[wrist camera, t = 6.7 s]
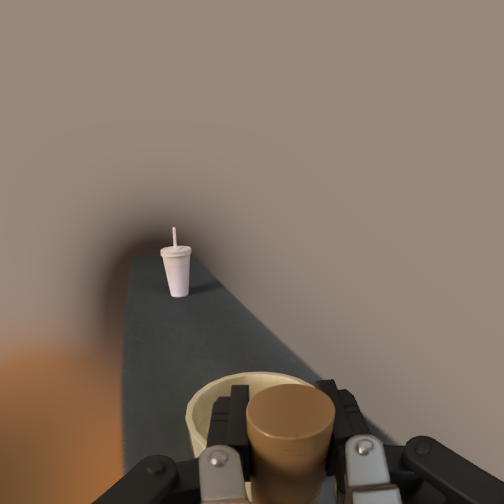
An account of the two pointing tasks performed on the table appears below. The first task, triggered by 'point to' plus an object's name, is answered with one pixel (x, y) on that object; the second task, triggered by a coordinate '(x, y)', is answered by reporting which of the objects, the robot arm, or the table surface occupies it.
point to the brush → (288, 443)
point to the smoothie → (177, 267)
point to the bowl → (204, 398)
